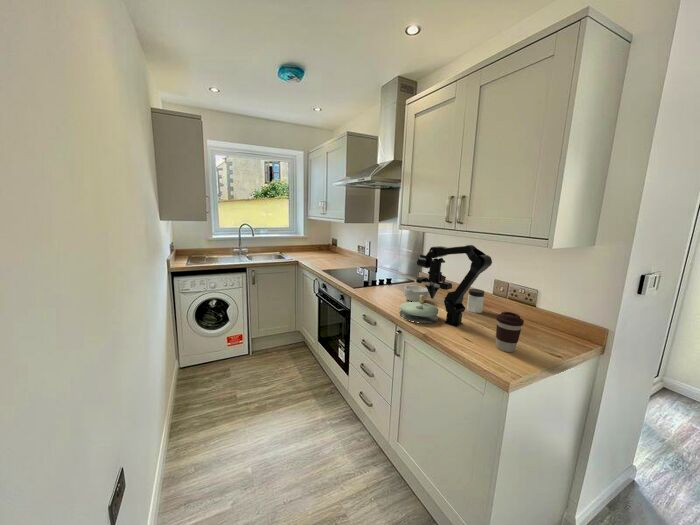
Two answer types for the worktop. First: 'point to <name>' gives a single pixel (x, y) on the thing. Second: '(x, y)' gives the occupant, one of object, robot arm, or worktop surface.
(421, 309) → the handwheel
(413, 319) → the grey metal shallow dish
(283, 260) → the worktop surface
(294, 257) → the worktop surface
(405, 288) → the paper bowls
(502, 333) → the coffee cup
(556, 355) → the worktop surface
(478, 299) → the jar
